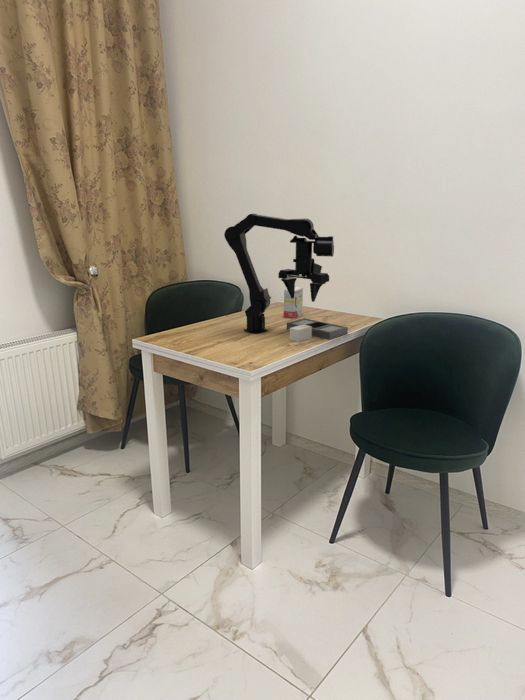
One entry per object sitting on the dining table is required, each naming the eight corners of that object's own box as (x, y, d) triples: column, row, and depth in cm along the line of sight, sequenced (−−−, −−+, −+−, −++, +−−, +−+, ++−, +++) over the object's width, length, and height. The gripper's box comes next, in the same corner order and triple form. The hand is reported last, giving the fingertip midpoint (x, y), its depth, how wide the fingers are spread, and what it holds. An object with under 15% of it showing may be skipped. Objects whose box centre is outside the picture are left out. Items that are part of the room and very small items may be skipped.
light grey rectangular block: (298, 342, 170) (298, 330, 169) (289, 340, 173) (289, 328, 172) (311, 338, 175) (311, 326, 174) (302, 336, 178) (303, 324, 177)
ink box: (293, 318, 204) (293, 290, 200) (283, 317, 206) (283, 289, 203) (303, 314, 211) (303, 287, 207) (292, 313, 213) (293, 286, 210)
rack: (329, 339, 173) (329, 332, 172) (286, 329, 187) (286, 322, 186) (347, 333, 181) (347, 326, 180) (304, 324, 194) (304, 317, 194)
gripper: (339, 255, 173) (337, 299, 177) (296, 252, 184) (296, 293, 189) (320, 258, 165) (319, 304, 169) (277, 254, 176) (277, 297, 181)
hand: (302, 299), depth 177 cm, fingers open, 9 cm apart
